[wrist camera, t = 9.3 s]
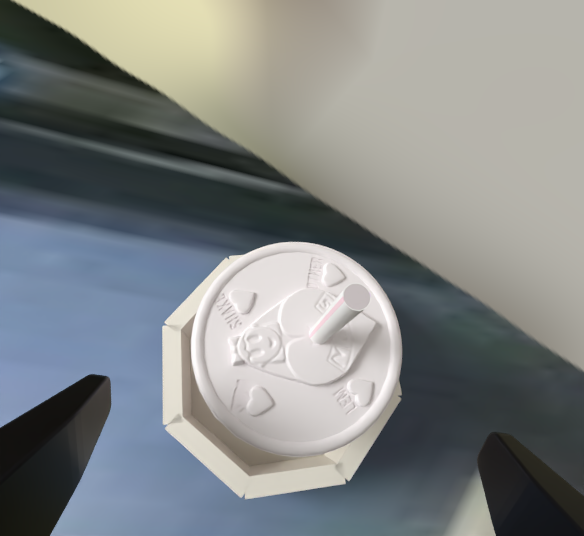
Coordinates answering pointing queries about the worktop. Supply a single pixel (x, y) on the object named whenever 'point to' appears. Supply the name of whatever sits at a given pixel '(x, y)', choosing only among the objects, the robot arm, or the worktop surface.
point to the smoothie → (296, 349)
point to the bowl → (222, 443)
